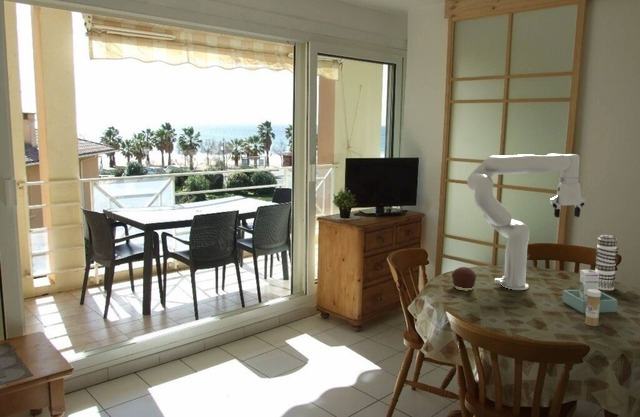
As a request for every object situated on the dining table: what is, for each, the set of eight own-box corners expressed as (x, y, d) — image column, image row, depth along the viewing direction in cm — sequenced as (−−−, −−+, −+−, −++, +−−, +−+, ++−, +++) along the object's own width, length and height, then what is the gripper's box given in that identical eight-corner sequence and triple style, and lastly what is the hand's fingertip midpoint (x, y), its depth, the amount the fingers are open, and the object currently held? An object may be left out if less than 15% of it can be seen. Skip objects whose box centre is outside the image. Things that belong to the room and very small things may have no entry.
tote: (582, 313, 203) (583, 301, 203) (562, 301, 218) (563, 290, 217) (616, 311, 205) (617, 300, 204) (594, 300, 219) (595, 289, 218)
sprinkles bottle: (583, 324, 191) (586, 290, 189) (586, 321, 195) (588, 287, 193) (597, 327, 188) (599, 293, 186) (599, 324, 192) (602, 290, 190)
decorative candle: (618, 290, 231) (622, 237, 228) (597, 290, 233) (600, 237, 229) (610, 285, 240) (614, 233, 237) (590, 284, 242) (593, 233, 238)
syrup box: (597, 307, 208) (600, 273, 206) (582, 306, 209) (585, 272, 207) (592, 302, 214) (594, 269, 211) (577, 302, 214) (580, 269, 212)
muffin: (451, 284, 244) (452, 264, 243) (475, 285, 241) (476, 265, 240) (451, 291, 233) (451, 270, 232) (476, 293, 230) (476, 272, 229)
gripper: (555, 181, 229) (553, 218, 232) (591, 181, 231) (589, 217, 233) (547, 180, 237) (545, 216, 239) (582, 179, 238) (579, 215, 241)
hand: (566, 216), depth 236 cm, fingers open, 9 cm apart
